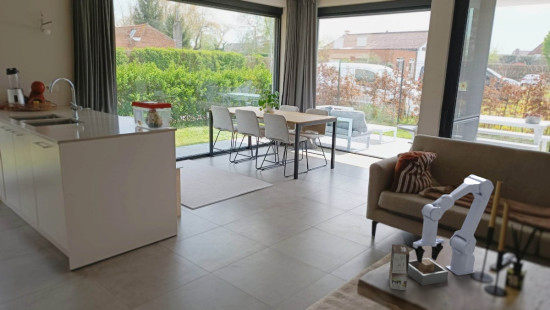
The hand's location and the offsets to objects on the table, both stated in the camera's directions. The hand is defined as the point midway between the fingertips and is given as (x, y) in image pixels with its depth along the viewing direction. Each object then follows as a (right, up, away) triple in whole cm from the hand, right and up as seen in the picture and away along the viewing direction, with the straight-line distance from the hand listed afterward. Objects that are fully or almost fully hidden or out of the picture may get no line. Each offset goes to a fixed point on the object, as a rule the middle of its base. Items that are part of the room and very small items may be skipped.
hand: (426, 260), depth 173 cm
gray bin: (0, -7, +2) cm, 7 cm away
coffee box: (-15, -9, -6) cm, 18 cm away
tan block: (0, -6, +1) cm, 7 cm away
